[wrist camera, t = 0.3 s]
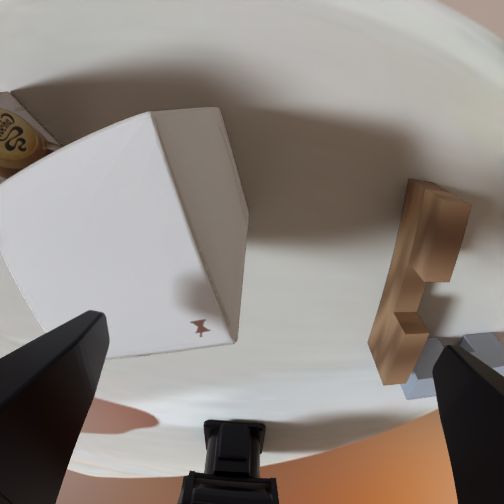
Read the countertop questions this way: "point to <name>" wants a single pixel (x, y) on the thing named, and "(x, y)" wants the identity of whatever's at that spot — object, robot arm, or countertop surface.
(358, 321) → the countertop surface
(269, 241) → the countertop surface
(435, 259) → the walnut block
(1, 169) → the coffee box
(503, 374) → the pale blue pillar
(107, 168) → the supplement box
